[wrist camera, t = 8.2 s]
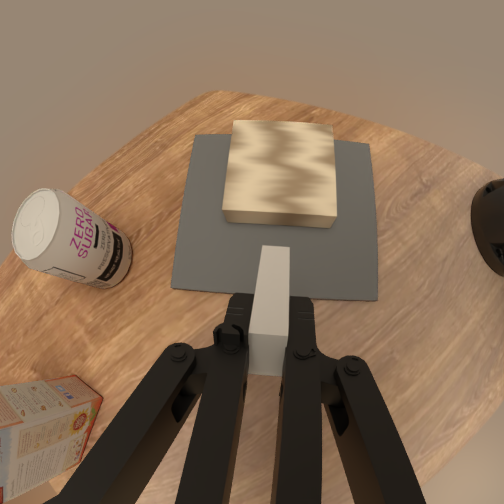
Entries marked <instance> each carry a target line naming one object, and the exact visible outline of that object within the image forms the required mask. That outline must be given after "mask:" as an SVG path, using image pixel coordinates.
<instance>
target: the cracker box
mask: <svg viewBox="0 0 504 504" xmlns="http://www.w3.org/2000/svg"><path fill="white" fill-rule="evenodd" d="M102 399H103V398H102V397H101V396H100V395H99V394H97V393H96V392H95V391H93V390H92V389H91V388H90V387H89V386H87V385H86V384H85V383H84V382H82V381H81V380H80V379H79V378H78V377H77V376H75V375H71V376H66V377H60V378H54V379H48V380H42V381H35V382H28V383H21V384H13V385H5V386H0V504H2V503H4V502H7V501H9V500H11V499H13V498H15V497H17V496H19V495H21V494H23V493H25V492H27V491H29V490H31V489H33V488H35V487H37V486H39V485H41V484H42V483H44V482H46V481H48V480H50V479H52V478H54V477H56V476H57V475H59V474H61V473H63V472H65V471H66V470H68V469H70V468H71V467H73V466H75V465H77V464H79V463H80V461H81V458H82V454H83V452H84V449H85V446H86V443H87V440H88V437H89V434H90V431H91V429H92V426H93V423H94V421H95V418H96V415H97V412H98V410H99V407H100V405H101V402H102Z"/></svg>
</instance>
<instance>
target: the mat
mask: <svg viewBox="0 0 504 504" xmlns="http://www.w3.org/2000/svg"><path fill="white" fill-rule="evenodd" d="M231 136H232V134H206V135H195V139H194V144H193V148H192V153H191V158H190V163H189V169H188V174H187V179H186V185H185V191H184V196H183V202H182V208H181V215H180V221H179V228H178V234H177V241H176V248H175V256H174V264H173V272H172V280H171V288H173V289H182V290H193V291H204V292H215V293H228V294H235V293H236V292H238V293H250V294H255V289H256V283H257V277H258V270H259V264H260V258H261V251H262V245H266V246H281V247H290V269H289V296H300V297H309V298H310V299H325V300H351V301H378V245H377V222H376V206H375V193H374V182H373V172H372V163H371V155H370V148H369V144H366V143H358V142H350V141H341V140H334V154H335V172H336V198H337V217H336V219H335V221H334V222H333V224H332V226H331V227H330V228H318V227H303V226H287V225H269V224H251V223H230V222H227V220H226V218H225V216H224V213H223V211H222V205H223V197H224V189H225V181H226V173H227V166H228V158H229V151H230V143H231Z"/></svg>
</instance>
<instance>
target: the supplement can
mask: <svg viewBox="0 0 504 504" xmlns="http://www.w3.org/2000/svg"><path fill="white" fill-rule="evenodd" d="M12 244H13V247H14V250H15V253H16V254H17V255H18V256H19V257H20V258H21V260H22V261H23V262H24V263H25V264H26V265H27V266H28V267H29V268H30V269H34V270H37V271H40V272H43V273H47V274H50V275H54V276H57V277H60V278H64V279H68V280H71V281H75V282H78V283H82V284H86V285H89V286H93V287H97V288H102V289H105V288H109V287H113V286H114V285H116V284H117V283H119V282H120V281H121V280H122V279H123V277H124V276H125V275H126V273H127V272H128V269H129V266H130V263H131V254H132V250H131V246H130V242H129V240H128V238H127V237H126V235H125V234H124V233H123V232H122V231H120V230H119V229H117V228H116V227H114V226H113V225H111V224H110V223H108V222H107V221H106V220H104V219H103V218H101V217H100V216H98V215H97V214H95V213H94V212H92V211H91V210H90V209H88V208H87V207H85V206H84V205H82V204H81V203H80V202H78V201H77V200H75V199H74V198H73V197H71V196H70V195H68V194H67V193H65V192H64V191H62V190H60V189H39V190H37V191H35V192H32V193H31V194H30V195H29V196H28V197H27V198H26V199H25V200H24V202H23V203H22V205H21V206H20V208H19V209H18V212H17V214H16V217H15V219H14V222H13V228H12Z"/></svg>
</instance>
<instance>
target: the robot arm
mask: <svg viewBox="0 0 504 504" xmlns="http://www.w3.org/2000/svg"><path fill="white" fill-rule="evenodd" d="M471 219H472V228H473V232H474V236H475V240H476V243H477V245H478V248H479V250H480V252H481V254H482V256H483V258H484V259H485V261H486V262H487V263H488V265H489V266H490V267H491V268H492V269H493V270H494V271H495V272H496V273H498V274H499V275H501V276H504V178H503V179H498V180H493V181H491V182H489V183H487V184H486V185H484V186H483V187H482V188H481V189H479V190H478V192H477V193H476V195H475V197H474V199H473V203H472V210H471ZM289 269H290V247H281V246H266V245H262V251H261V258H260V264H259V270H258V277H257V283H256V289H255V294H250V293H238V292H236V293H235V294H234V295H233V296H232V297H231V298H230V300H229V304H228V308H227V312H226V315H225V319H224V323H222V324H219V325H218V326H217V327H215V329H214V331H213V337H214V344H213V345H212V346H209V347H206V348H201V349H193V348H192V346H190V345H188V344H186V343H174V344H172V345H169V346H168V347H167V348H166V349H165V350H164V351H163V353H162V354H161V355H160V357H159V358H158V359H157V361H156V362H155V363H154V365H153V366H152V367H151V369H150V370H149V371H148V373H147V374H146V375H145V377H144V378H143V379H142V381H141V382H140V383H139V385H138V386H137V388H136V389H135V390H134V392H133V393H132V394H131V396H130V397H129V398H128V400H127V401H126V402H125V404H124V405H123V406H122V408H121V409H120V411H119V412H118V413H117V415H116V416H115V417H114V419H113V420H112V421H111V423H110V424H109V425H108V427H107V428H106V430H105V431H104V432H103V434H102V435H101V436H100V438H99V439H98V441H97V442H96V443H95V445H94V446H93V447H92V449H91V450H90V451H89V453H88V454H87V456H86V457H85V458H84V460H83V461H82V463H81V464H80V465H79V467H78V468H77V469H76V471H75V472H74V474H73V475H72V476H71V478H70V479H69V481H68V482H67V483H66V485H65V486H64V488H63V489H62V490H61V492H60V493H59V495H57V496H55V497H53V498H52V499H50V500H48V501H46V502H45V503H43V504H135V503H136V501H137V500H138V498H139V496H140V495H141V493H142V492H143V490H144V488H145V487H146V485H147V484H148V482H149V480H150V479H151V477H152V476H153V474H154V472H155V471H156V469H157V467H158V466H159V464H160V462H161V461H162V459H163V458H164V456H165V454H166V453H167V451H168V449H169V448H170V446H171V444H172V443H173V441H174V439H175V438H176V436H177V434H178V433H179V431H180V429H181V428H182V426H183V424H184V423H185V421H186V419H187V418H188V416H189V414H190V412H191V411H192V409H193V407H194V406H195V404H196V402H197V401H198V399H199V397H200V395H201V394H202V396H201V400H200V404H199V408H198V412H197V416H196V420H195V424H194V428H193V432H192V436H191V440H190V444H189V448H188V452H187V456H186V460H185V464H184V468H183V472H182V476H181V481H180V485H179V489H178V493H177V497H176V501H175V504H229V499H230V493H231V486H232V480H233V474H234V468H235V461H236V455H237V449H238V442H239V436H240V429H241V422H242V416H243V409H244V402H245V396H246V389H247V376H248V374H255V375H267V376H281V377H282V381H281V387H280V393H279V396H280V402H279V416H278V429H277V441H276V452H275V463H274V474H273V484H272V493H271V503H270V504H321V491H322V410H321V403H324V407H325V410H326V413H327V416H328V419H329V422H330V425H331V428H332V431H333V435H334V438H335V441H336V444H337V447H338V451H339V454H340V457H341V460H342V463H343V467H344V470H345V473H346V476H347V480H348V483H349V486H350V490H351V493H352V496H353V500H354V503H355V504H426V502H425V499H424V496H423V494H422V491H421V488H420V486H419V483H418V480H417V478H416V475H415V473H414V470H413V468H412V465H411V463H410V460H409V458H408V455H407V453H406V450H405V448H404V446H403V443H402V441H401V438H400V436H399V434H398V431H397V429H396V427H395V424H394V422H393V420H392V418H391V415H390V413H389V411H388V408H387V406H386V404H385V402H384V400H383V397H382V395H381V393H380V391H379V389H378V386H377V384H376V382H375V380H374V378H373V376H372V373H371V371H370V369H369V367H368V365H367V364H366V362H365V361H364V360H363V359H361V358H360V357H357V356H353V355H352V356H345V357H342V358H341V359H340V360H337V359H333V358H330V357H328V356H325V355H324V354H322V353H321V352H320V351H319V349H318V348H317V345H316V336H315V321H314V307H313V303H312V302H311V300H310V298H309V297H300V296H289Z"/></svg>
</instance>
